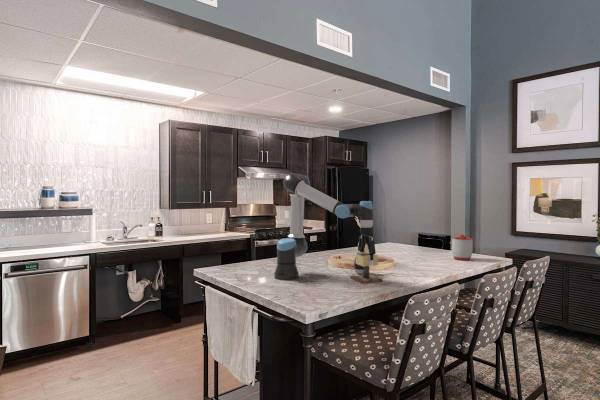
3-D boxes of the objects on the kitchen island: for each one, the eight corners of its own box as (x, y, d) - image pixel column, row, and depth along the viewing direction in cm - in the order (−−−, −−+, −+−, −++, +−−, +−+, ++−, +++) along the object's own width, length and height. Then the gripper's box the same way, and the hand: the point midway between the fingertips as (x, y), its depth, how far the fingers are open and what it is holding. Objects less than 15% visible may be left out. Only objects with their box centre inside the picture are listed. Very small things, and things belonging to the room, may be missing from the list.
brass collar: (363, 266, 213) (363, 256, 213) (355, 263, 222) (355, 253, 222) (377, 265, 216) (377, 255, 216) (369, 262, 225) (369, 252, 225)
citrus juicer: (455, 256, 302) (455, 232, 302) (476, 259, 288) (476, 234, 288) (445, 258, 292) (445, 233, 292) (467, 261, 279) (467, 235, 278)
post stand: (361, 283, 210) (361, 269, 210) (350, 278, 223) (350, 264, 223) (382, 281, 215) (382, 267, 215) (370, 276, 228) (370, 263, 228)
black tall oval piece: (351, 274, 235) (351, 250, 235) (356, 271, 244) (356, 248, 244) (366, 276, 230) (366, 251, 230) (371, 272, 239) (371, 249, 239)
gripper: (381, 228, 209) (381, 267, 210) (362, 225, 230) (362, 260, 230) (370, 228, 207) (370, 268, 207) (352, 225, 228) (352, 261, 228)
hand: (366, 264), depth 219 cm, fingers closed on brass collar, 9 cm apart
